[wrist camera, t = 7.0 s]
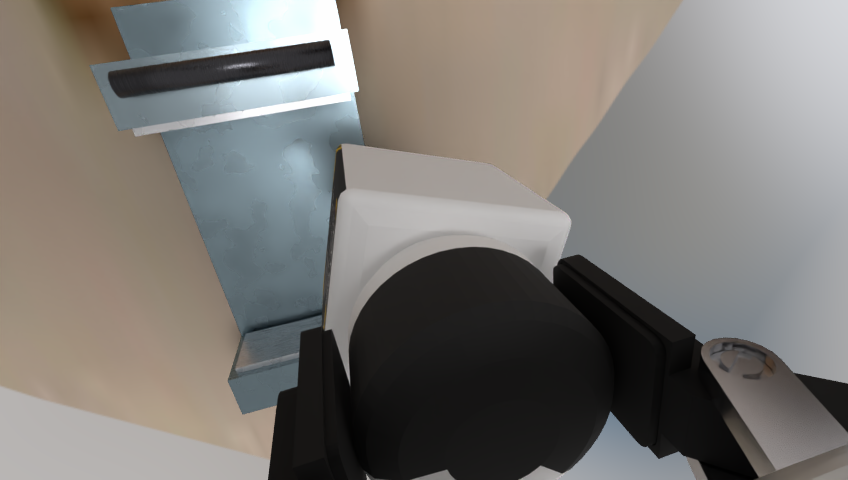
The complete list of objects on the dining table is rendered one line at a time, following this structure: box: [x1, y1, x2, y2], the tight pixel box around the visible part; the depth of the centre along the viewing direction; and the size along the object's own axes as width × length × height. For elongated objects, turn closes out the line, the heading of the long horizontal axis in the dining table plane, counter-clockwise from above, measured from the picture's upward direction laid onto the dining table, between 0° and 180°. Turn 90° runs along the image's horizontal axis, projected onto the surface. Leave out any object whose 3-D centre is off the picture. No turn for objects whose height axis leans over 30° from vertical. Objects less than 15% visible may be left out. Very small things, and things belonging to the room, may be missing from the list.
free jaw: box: [89, 29, 359, 137], centre depth 22 cm, size 3×12×6 cm, turn 99°
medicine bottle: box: [322, 144, 615, 480], centre depth 14 cm, size 7×7×12 cm
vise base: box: [111, 0, 365, 414], centre depth 26 cm, size 25×12×6 cm, turn 8°
